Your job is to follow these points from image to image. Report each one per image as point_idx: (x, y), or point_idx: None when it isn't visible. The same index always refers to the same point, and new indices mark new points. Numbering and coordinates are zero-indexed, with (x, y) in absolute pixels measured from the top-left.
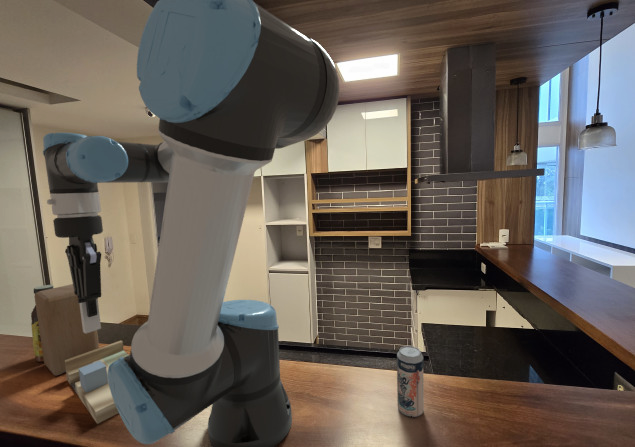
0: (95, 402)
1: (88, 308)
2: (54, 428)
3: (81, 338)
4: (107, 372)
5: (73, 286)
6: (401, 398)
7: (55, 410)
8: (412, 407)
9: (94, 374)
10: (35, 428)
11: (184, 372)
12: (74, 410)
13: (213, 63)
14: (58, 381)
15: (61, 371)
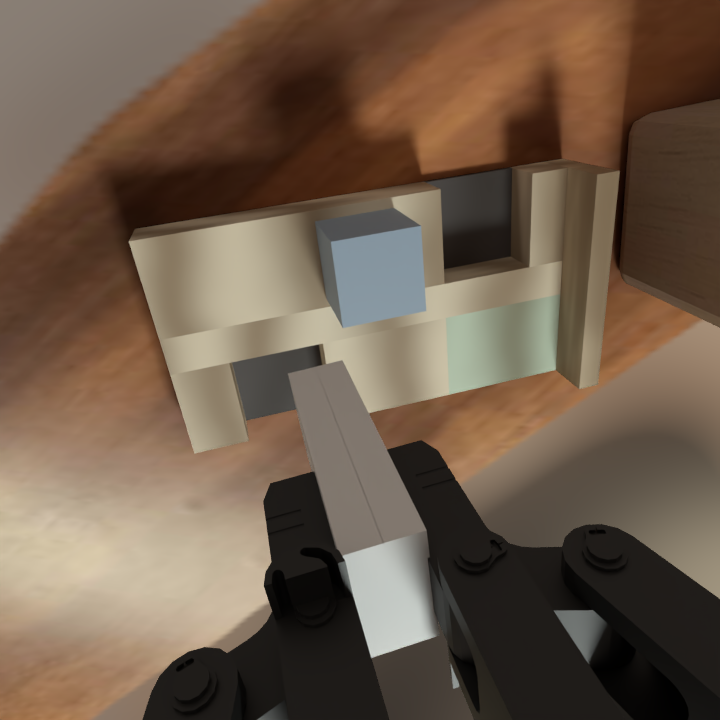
0: (206, 246)
1: (272, 550)
2: (221, 92)
3: (713, 259)
4: None
5: (710, 593)
6: None
7: (356, 104)
8: None
9: (332, 276)
10: (277, 28)
11: None
12: (298, 166)
13: None
14: (581, 128)
15: (631, 145)
